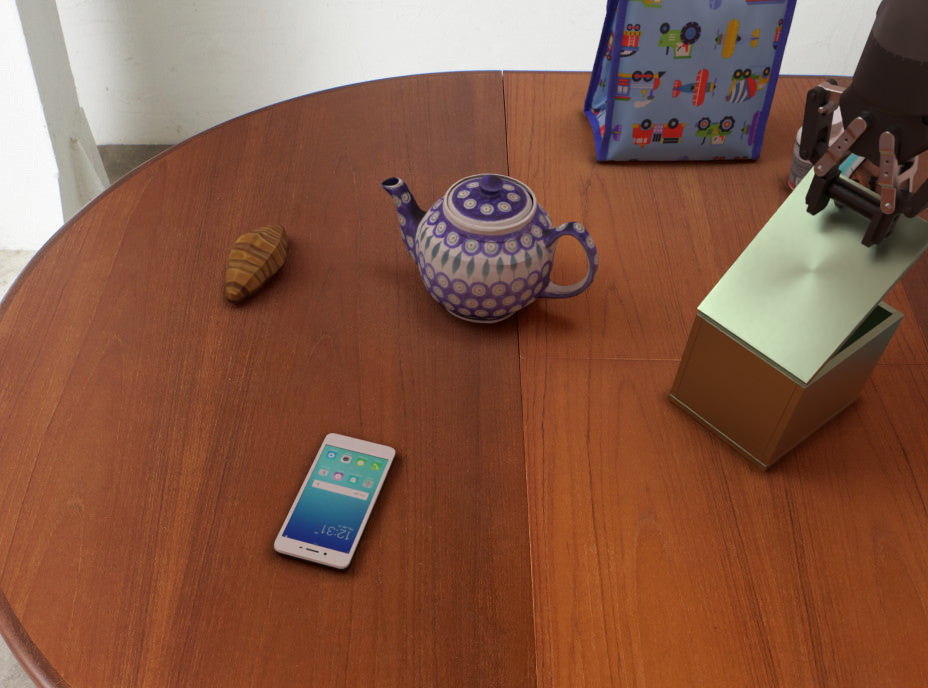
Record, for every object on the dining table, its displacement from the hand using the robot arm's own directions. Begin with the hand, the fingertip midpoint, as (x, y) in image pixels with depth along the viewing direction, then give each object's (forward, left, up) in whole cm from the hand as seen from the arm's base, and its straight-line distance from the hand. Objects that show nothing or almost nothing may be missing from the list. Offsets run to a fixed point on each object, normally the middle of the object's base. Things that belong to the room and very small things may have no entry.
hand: (842, 225), depth 82 cm
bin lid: (+2, 0, -4) cm, 5 cm away
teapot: (+12, -31, -22) cm, 40 cm away
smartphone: (+43, -17, -22) cm, 51 cm away
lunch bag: (-29, -39, -22) cm, 53 cm away
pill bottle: (-35, -20, -21) cm, 45 cm away
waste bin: (0, 0, -22) cm, 22 cm away
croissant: (+30, -50, -22) cm, 62 cm away
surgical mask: (-43, -21, -22) cm, 53 cm away
